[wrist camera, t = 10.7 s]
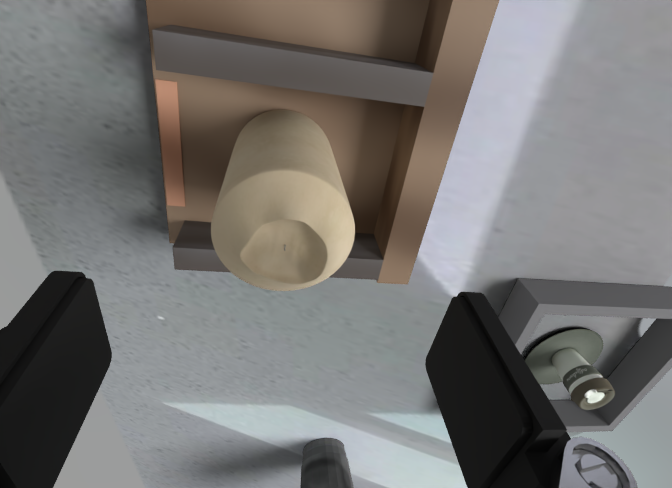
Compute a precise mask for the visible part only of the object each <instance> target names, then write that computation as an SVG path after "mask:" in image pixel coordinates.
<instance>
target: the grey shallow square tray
mask: <svg viewBox="0 0 672 488" xmlns="http://www.w3.org/2000/svg"><path fill="white" fill-rule="evenodd" d="M545 314H552V315H579V316H606V317H633V318H657V319H656V320H655V321H654V322H653V324H652V325H651V326H650V327H649V329H648V330H647V331H646V332H645V333H644V335H643V336H642V337H641V338H640V339H639V341H638V342H637V343H636V344H635V346H634V347H633V348H632V349H631V350H630V352H629V353H628V354H627V355H626V357H625V358H624V359H623V360H622V361H621V363H620V364H619V365H618V366H617V367H616V369H615V370H614V371H613V372H612V374H611V375H610V376H609V377H608V378H607V380H608V381H609V382H610V384H611V385H612V387H613V389H614V391H615V395H614V397H613V399H612V400H611V401H610V402H608V403H607V404H605V405H604V406H602V407H599V408H596V409H592V410H584V409H581V408H580V407H579V406H578V405H577V404H576V403H575V402H573V401H571V400H549V401H550V403H551V404H552V406H553V407H554V409H555V411H556V412H557V414H558V416H559V417H560V419H561V420H562V422H563V424H564V425H565V427H566V429H567V430H566V432H591V431H613V430H614V429H615V428H616V426H617V425H618V424H619V423H620V422H621V421H622V420H623V419H624V418H625V417H626V416H627V415H628V414H629V413H630V411H631V410H632V409H633V408H634V407H635V406H636V405H637V404H638V403H639V402H640V401H641V400H642V399H643V398H644V397H645V395H647V393H648V392H649V391H650V390H651V389H652V388H653V387H654V386H655V385H656V384H657V383H658V382H659V381H660V380H661V379H662V377H663V376H664V375H665V374H666V373H667V372H668V371H669V370H670V369H671V368H672V287H665V286H647V285H629V284H610V283H592V282H574V281H556V280H538V279H520V278H518V280H517V282H516V284H515V286H514V288H513V290H512V291H511V293H510V295H509V297H508V299H507V301H506V303H505V305H504V307H503V309H502V311H501V313H500V315H499V317H498V318H499V320H500V322H501V323H502V325H503V326H504V328H505V330H506V331H507V333H508V335H509V336H510V338H511V339H512V341H513V343H514V344H515V346H516V347H517V349H518V351H519V352H520V354H521V353H522V352H523V350H524V348H525V347H526V345H527V343H528V342H529V340H530V338H531V337H532V335H533V333H534V332H535V330H536V328H537V327H538V325H539V323H540V322H541V320H542V318H543V317H544V315H545Z"/></svg>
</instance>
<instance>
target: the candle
mask: <svg viewBox="0 0 672 488" xmlns="http://www.w3.org/2000/svg"><path fill="white" fill-rule="evenodd" d="M354 237H355V223H354V218H353V214H352V211H351V208H350V205H349V201H348V198H347V195H346V192H345V189H344V186H343V183H342V180H341V177H340V173H339V170H338V167H337V164H336V161H335V158H334V155H333V152H332V149H331V146H330V143H329V141H328V139H327V137H326V135H325V133H324V132H323V130H322V129H321V128H320V127H319V126H318V124H316V123H315V122H314V121H313V120H312V119H310V118H309V117H307V116H305V115H303V114H301V113H299V112H295V111H291V110H282V109H280V110H272V111H267V112H265V113H262V114H260V115H258V116H256V117H255V118H253V119H252V120H251V121H249V122H248V123H247V124H246V125H245V127H244V128H243V129H242V131H241V132H240V134H239V136H238V138H237V140H236V143H235V146H234V149H233V152H232V155H231V158H230V161H229V165H228V168H227V171H226V174H225V178H224V181H223V184H222V187H221V191H220V194H219V197H218V200H217V203H216V207H215V210H214V213H213V217H212V222H211V238H212V243H213V246H214V249H215V251H216V253H217V256H218V257H219V259H220V260H221V262H222V263H223V264H224V265H225V267H226V268H227V269H228V270H229V271H230V272H231V273H233V274H234V275H235V276H237V277H238V278H239V279H241V280H243V281H245V282H246V283H249V284H251V285H253V286H256V287H259V288H263V289H268V290H275V291H291V290H299V289H303V288H307V287H310V286H313V285H315V284H317V283H320V282H322V281H323V280H325V279H327V278H328V277H330V276H331V275H332V274H334V273H335V272H336V271H337V270H338V269H339V268H340V267H341V266H342V264H343V263H344V262H345V260H346V259H347V257H348V255H349V254H350V251H351V249H352V246H353V242H354Z"/></svg>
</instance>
